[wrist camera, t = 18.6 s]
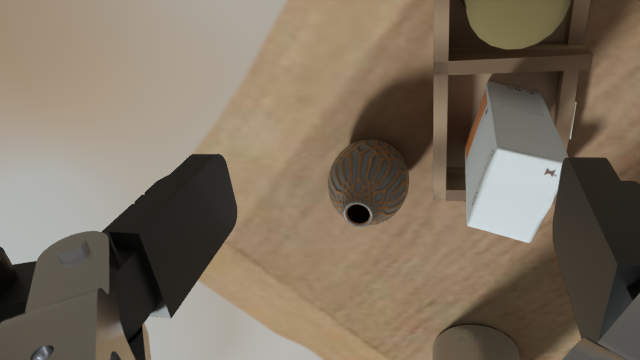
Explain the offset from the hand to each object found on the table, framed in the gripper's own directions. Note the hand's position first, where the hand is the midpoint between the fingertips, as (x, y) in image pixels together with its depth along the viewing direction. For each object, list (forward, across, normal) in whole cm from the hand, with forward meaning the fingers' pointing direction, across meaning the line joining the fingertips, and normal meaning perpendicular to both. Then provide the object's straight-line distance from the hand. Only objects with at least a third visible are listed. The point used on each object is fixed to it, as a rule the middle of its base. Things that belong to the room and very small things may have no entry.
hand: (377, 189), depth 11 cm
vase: (+28, +5, +14) cm, 32 cm away
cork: (+28, -5, -1) cm, 28 cm away
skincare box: (+28, -6, +10) cm, 30 cm away
